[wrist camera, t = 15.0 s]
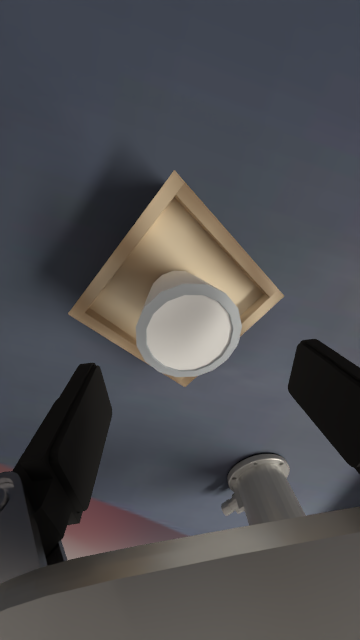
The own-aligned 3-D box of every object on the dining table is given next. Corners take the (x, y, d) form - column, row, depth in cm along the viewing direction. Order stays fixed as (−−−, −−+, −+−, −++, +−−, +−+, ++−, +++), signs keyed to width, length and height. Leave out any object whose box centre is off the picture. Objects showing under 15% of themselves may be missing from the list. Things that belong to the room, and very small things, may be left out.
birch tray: (179, 359, 26) (184, 387, 22) (87, 296, 21) (67, 313, 17) (258, 283, 23) (284, 296, 18) (169, 186, 18) (174, 170, 13)
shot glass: (127, 308, 18) (113, 351, 12) (169, 246, 16) (180, 257, 10) (184, 342, 20) (197, 392, 14) (226, 291, 19) (264, 323, 12)
